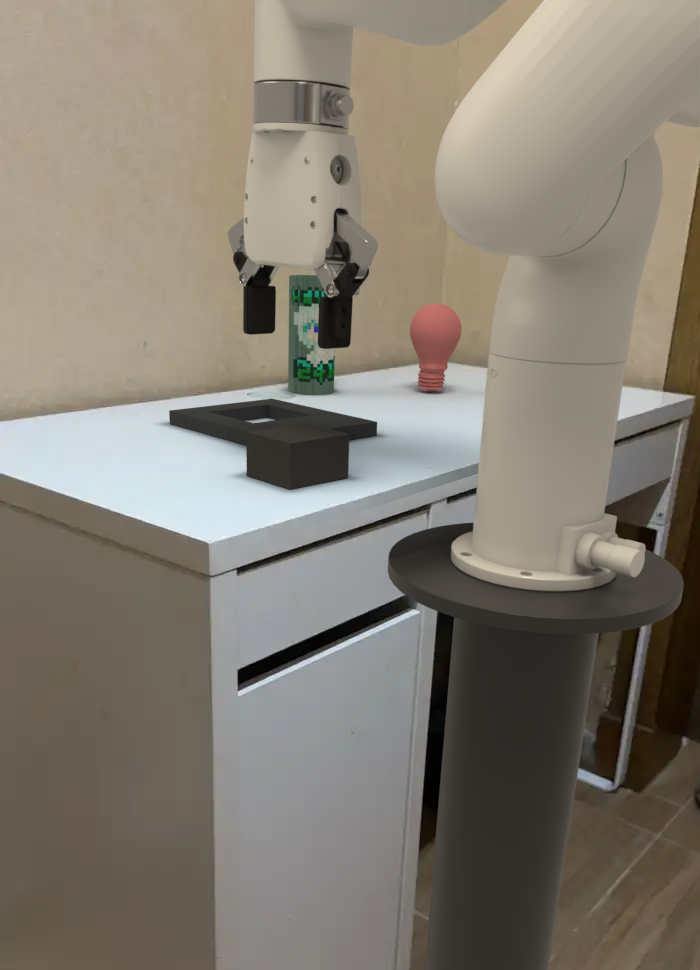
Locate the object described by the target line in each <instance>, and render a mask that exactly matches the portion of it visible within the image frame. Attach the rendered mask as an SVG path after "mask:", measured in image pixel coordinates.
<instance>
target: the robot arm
mask: <svg viewBox="0 0 700 970" xmlns="http://www.w3.org/2000/svg"><path fill="white" fill-rule="evenodd" d="M508 1H509V0H254V16H253V17H254V21H253V22H254V23H253V24H254V26H253V27H254V29H253V31H254V33H253V108H252V109H253V118H252V119H253V121H252V122H253V125H252V132H253V133H251V139H250V144H249V149H248V150H249V151H248V158H247V166H246V175H245V189H244V203H243V217H242V218H241V219H240V220H239V221H238V222H237V223H235V224H234V225H233V226H231V227H230V228H229V229H228V232H227V237H228V240H229V244H230V248H231V251H232V254H233V256H232V260H233V261H232V262H233V263H234V265H235V268H236V270H237V271H238V273H239V274H238V281H239V284H240V285H241V286H243V287H242V288H243V309H242V310H243V311H242V314H243V316H242V329H243V331H242V332H243V333H244V334H245V335H268V334H269V335H270V334H271V335H272V334H274V332H275V331H276V310H277V309H276V305H277V303H276V302H277V301H276V300H277V290H276V288H277V286H275V285H271V283H272V281H273V280H274V277H276V274H277V273H278V270H279V269H280V268H288V269H297V270H313V271H314V272H315V275H317V276H318V278H319V281H320V283H321V285H322V287H323V289H324V291H325V293H326V295H327V297H320V300H319V318H318V346H319V347H320V348H323V349H333V348H335V349H345V348H349V347H350V346H351V341H352V323H353V321H352V319H353V302H354V301H353V299H354V298H357V297H358V296H359V294H360V288H361V286H362V285H363V283H364V282H365V281H366V280H367V278H369V277H368V276H369V275H370V267H371V266H372V263H373V260H374V258H375V256H376V253H377V251H378V248H379V243H378V241H377V239H376V238H375V237H374V236H373V235H372V234H370V233H369V232H368V231H367V230H366V229H365V228H364V227H363V226H362V198H361V196H362V195H361V177H360V175H361V174H360V166H359V165H360V164H359V157H358V156H359V155H358V148H357V143H356V138H355V136H354V135H350V134H349V127H350V115H351V114H352V113H353V111H354V106H355V105H354V100H353V98H352V97H351V80H352V61H353V60H352V58H353V37H354V36H353V35H354V28H355V29H359V30H362V31H366V32H370V33H373V34H378V35H382V36H387V37H390V38H392V39H396V40H400V41H403V42H406V43H409V44H413V45H417V46H421V47H429V48H431V47H438V46H439V47H440V46H444V45H446V44H449V43H451V42H453V41H456V40H458V39H460V38H462V37H463V36H465V35H467V34H468V33H469V32H471V31H472V30H474V29H475V28H476V27H478V26H479V25H480V24H481V23H483V22H484V21H485V20H487V19H488V18H489V17H491V16H492V15H493V14H494V13H495V12H497V11H498V10H499V9H500V8H501V7H503V6H504V5H505V4H506V3H507V2H508ZM665 122H669V123H672V124H675V125H680V126H685V127H690V128H700V0H543V1H542V2H541V3H540V4H539V5H538V7H537V8H536V9H535V10H534V12H533V13H532V14H531V15H530V16H529V17H528V18H527V20H526V21H525V22H524V24H523V25H522V26H521V27H520V29H518V31H517V32H516V33H515V34H514V35H513V37H512V38H511V39H510V40H509V41H508V43H507V44H506V45H505V46H504V48H503V49H502V50H501V51H500V53H499V54H498V55H497V56H496V57H495V59H494V60H493V61H492V62H491V64H490V65H489V66H488V67H487V68H486V69H485V71H483V73H482V74H481V76H480V77H479V78H478V79H477V81H476V82H474V84H473V86H472V87H471V88H470V89H469V91H468V92H467V93H466V95H465V96H464V98H463V99H462V101H461V102H460V103H459V105H458V107H456V110H455V111H454V112H453V115H452V117H450V120H449V122H448V124H447V125H446V128H445V130H444V133H443V135H442V137H441V140H440V143H439V146H438V151H437V154H436V158H435V165H434V175H433V178H434V191H435V199H436V203H437V206H438V210H439V212H440V214H441V216H442V218H443V220H444V221H445V223H446V225H447V226H448V227H449V228H450V230H451V231H452V232H453V233H454V234H455V235H456V236H457V237H458V238H459V239H460V240H461V241H462V242H464V243H466V244H468V246H469V245H470V246H471V247H473V248H475V249H476V250H479V251H482V252H484V253H489V254H494V255H500V256H509V258H508V262H507V265H506V267H505V269H504V272H503V273H504V274H503V275H502V279H501V281H500V285H499V288H498V292H497V296H496V300H495V304H494V310H493V315H492V320H491V321H492V322H491V330H490V341H489V349H488V350H489V351H488V357H487V366H486V367H487V368H486V382H485V391H484V401H483V413H482V423H481V425H482V426H481V437H480V445H479V446H480V447H479V457H478V458H479V459H478V469H477V480H476V481H477V482H476V491H475V492H476V493H475V502H474V503H475V504H474V515H473V516H474V517H473V523H474V525H473V531H472V532H469V533H466V534H463V535H461V536H460V537H458V538H456V540H455V541H454V542H453V543H452V546H451V560H452V562H453V564H454V565H455V566H456V567H457V568H458V569H460V570H461V571H462V572H464V573H466V574H468V575H470V576H472V577H474V578H477V579H479V580H482V581H485V582H488V583H492V584H495V585H500V586H504V587H509V588H515V589H522V590H529V591H542V592H569V591H580V590H587V589H592V588H596V587H599V586H602V585H604V584H606V583H609V582H610V581H611V580H612V579H614V578H615V577H616V574H617V573H619V574H623V575H626V576H629V577H637V576H638V575H639V574H640V572H641V570H642V568H643V565H644V562H645V555H644V554H645V551H646V550H647V548H646V544H645V543H643V542H639V541H635V540H632V539H628V538H627V539H625V538H621V537H619V535H618V534H617V533H616V527H617V520H618V516H617V515H614V514H613V515H612V514H609V513H606V512H605V509H606V504H607V496H608V489H609V482H610V476H611V475H610V474H611V468H612V461H613V454H614V447H615V440H616V434H617V427H618V420H619V413H620V407H621V406H620V405H621V399H622V398H621V397H622V392H623V386H624V379H625V378H624V377H625V371H626V364H627V360H628V356H629V348H630V341H631V335H632V328H633V323H634V322H633V321H634V315H635V311H636V304H637V299H638V294H639V290H640V285H641V280H642V276H643V272H644V268H645V264H646V260H647V257H648V253H649V250H650V246H651V243H652V240H653V236H654V233H655V229H656V225H657V222H658V217H659V214H660V209H661V205H662V197H663V189H664V168H663V160H662V156H661V152H660V147H659V145H658V143H657V140H656V138H655V136H654V133H655V132H656V131H657V130H658V129H659V128H660V127H661V126H662V125H664V124H665ZM334 273H335V274H336V276H335V274H334ZM335 277H336V278H335Z"/></svg>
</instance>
